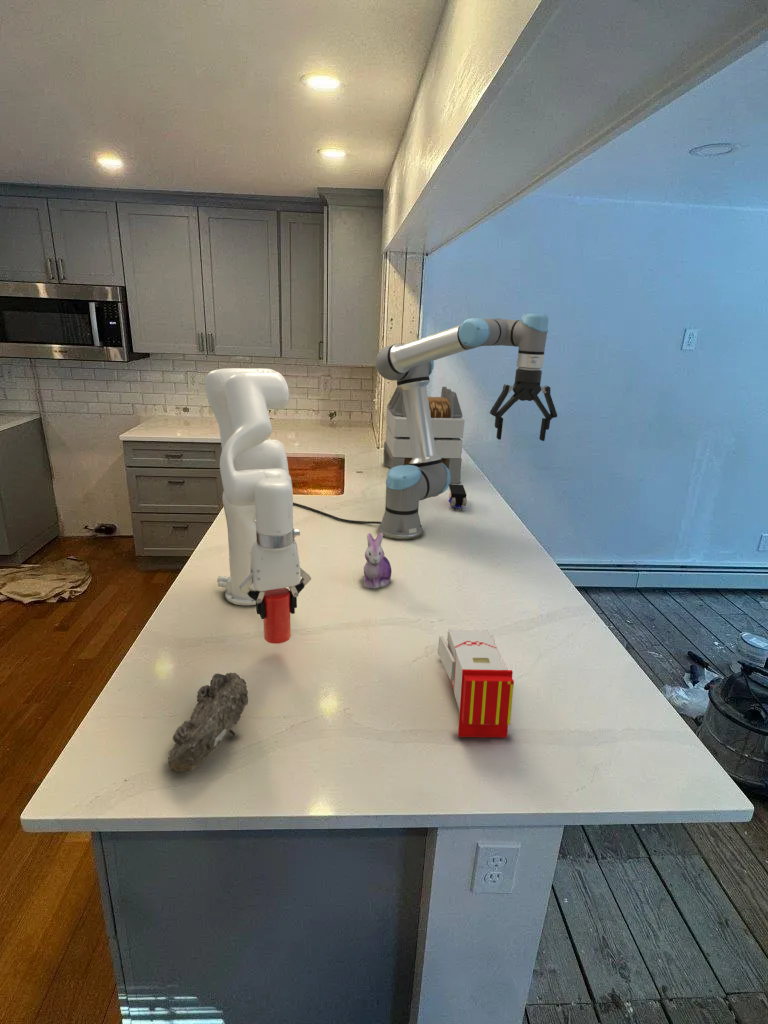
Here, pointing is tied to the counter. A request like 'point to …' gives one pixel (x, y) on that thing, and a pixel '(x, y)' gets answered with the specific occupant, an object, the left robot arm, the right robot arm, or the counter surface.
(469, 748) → the counter surface
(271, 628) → the can
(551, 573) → the counter surface
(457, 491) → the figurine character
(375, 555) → the figurine
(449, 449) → the grey wooden crate
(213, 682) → the fossil
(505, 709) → the toy
